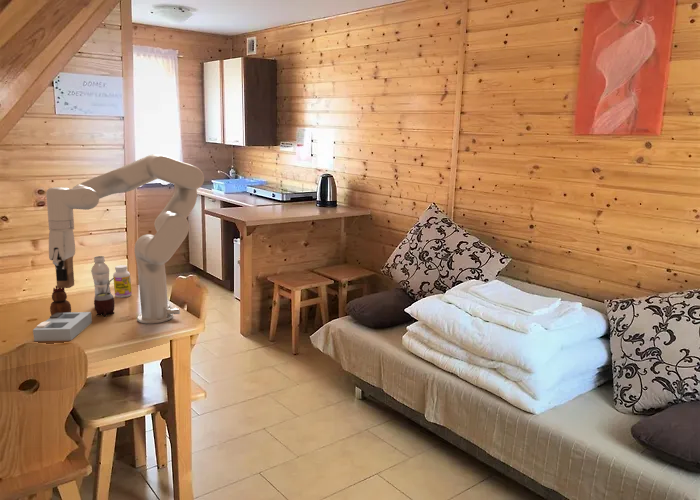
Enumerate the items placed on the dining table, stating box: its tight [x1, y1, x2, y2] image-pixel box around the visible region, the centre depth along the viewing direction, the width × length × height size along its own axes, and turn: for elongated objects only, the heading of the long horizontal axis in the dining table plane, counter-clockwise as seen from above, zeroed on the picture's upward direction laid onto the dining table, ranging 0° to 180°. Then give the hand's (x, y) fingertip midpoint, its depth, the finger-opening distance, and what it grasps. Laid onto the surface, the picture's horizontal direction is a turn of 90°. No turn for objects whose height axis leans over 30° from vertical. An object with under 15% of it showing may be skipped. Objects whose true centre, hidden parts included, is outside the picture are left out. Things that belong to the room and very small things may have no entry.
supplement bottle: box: [112, 264, 133, 299], centre depth 240 cm, size 7×7×13 cm
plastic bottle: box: [90, 255, 112, 299], centre depth 225 cm, size 6×7×20 cm
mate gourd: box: [93, 277, 115, 318], centre depth 215 cm, size 8×8×15 cm
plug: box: [55, 256, 75, 289], centre depth 191 cm, size 4×4×10 cm
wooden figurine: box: [49, 284, 72, 316], centre depth 209 cm, size 7×6×15 cm
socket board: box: [32, 311, 93, 342], centre depth 199 cm, size 12×18×5 cm, turn 3°
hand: (65, 278), depth 191 cm, fingers closed on plug, 4 cm apart
